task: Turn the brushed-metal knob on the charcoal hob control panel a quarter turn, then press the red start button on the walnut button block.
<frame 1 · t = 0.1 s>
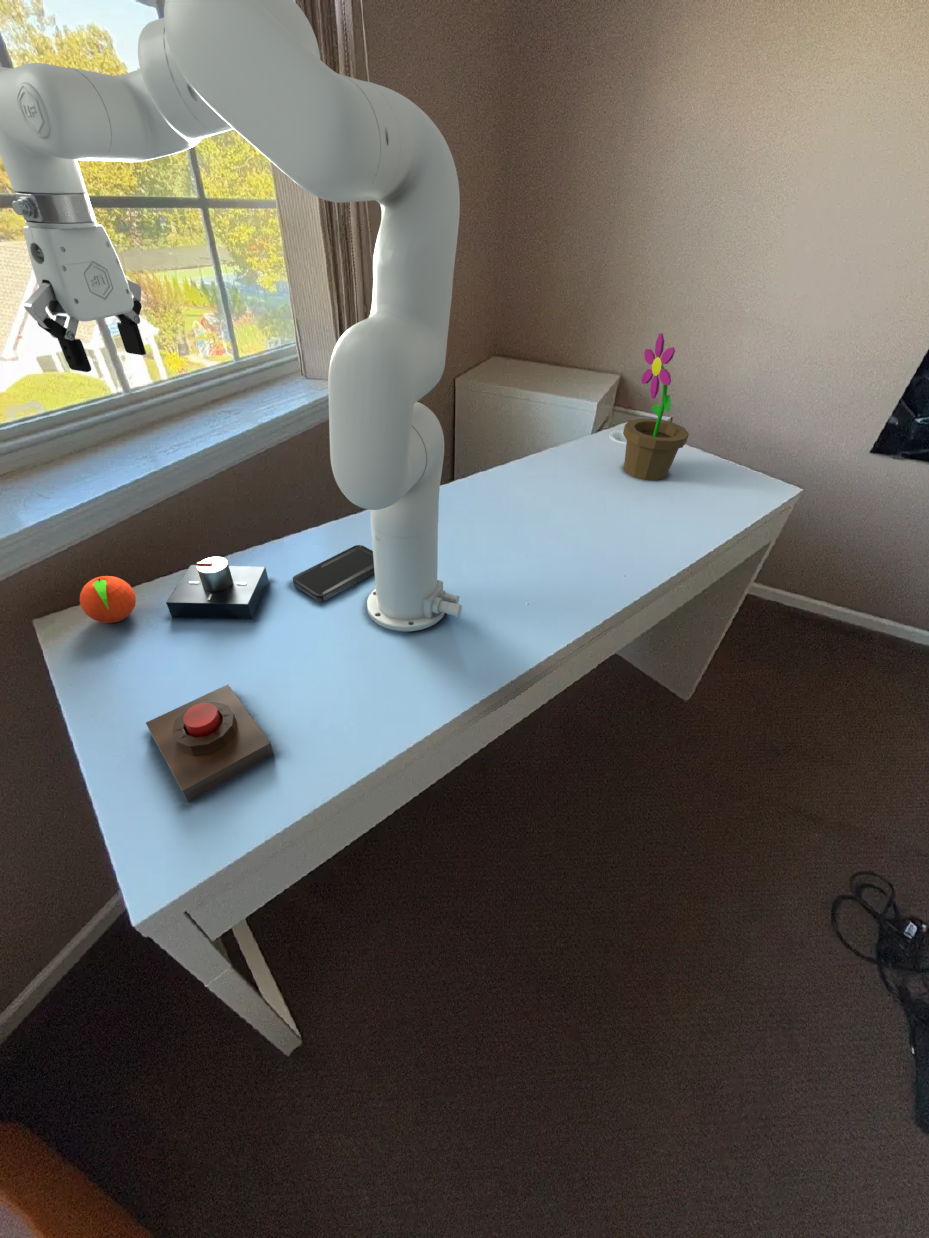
hand: (110, 361, 77), 31 cm above the table, tool pointing down, fingers open, 9 cm apart
flowerpot: (645, 472, 132), on the table
start button: (202, 719, 62), point 4 cm above the table, slide at 0.1 cm
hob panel: (222, 598, 87), on the table
phone: (341, 574, 93), on the table
clementine: (117, 620, 82), on the table
hob knob: (214, 573, 84), point 5 cm above the table, hinge at 0.0°
button block: (212, 744, 65), on the table
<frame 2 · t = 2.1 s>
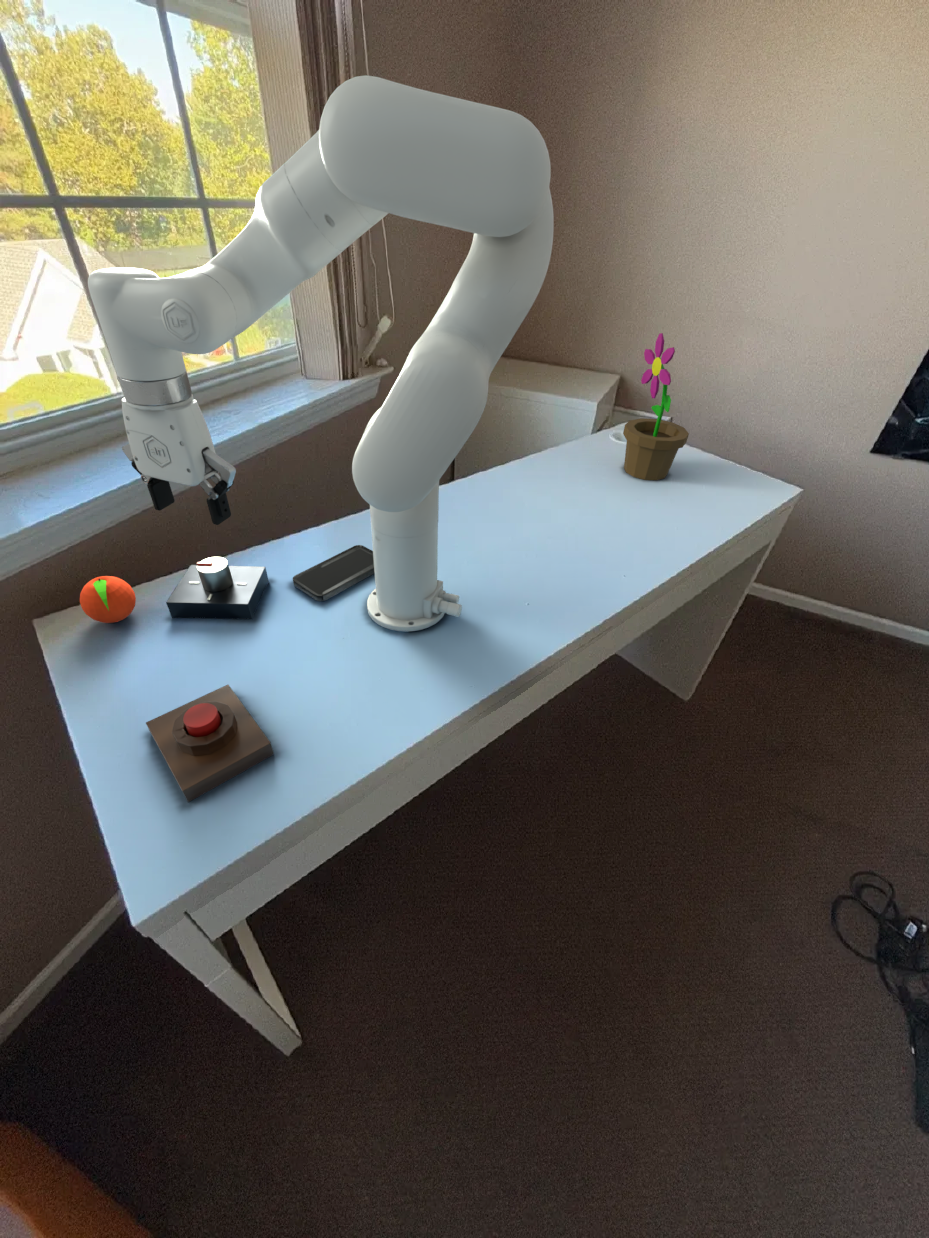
hand: (193, 513, 78), 15 cm above the table, tool pointing down, fingers open, 9 cm apart
nothing on the table moved.
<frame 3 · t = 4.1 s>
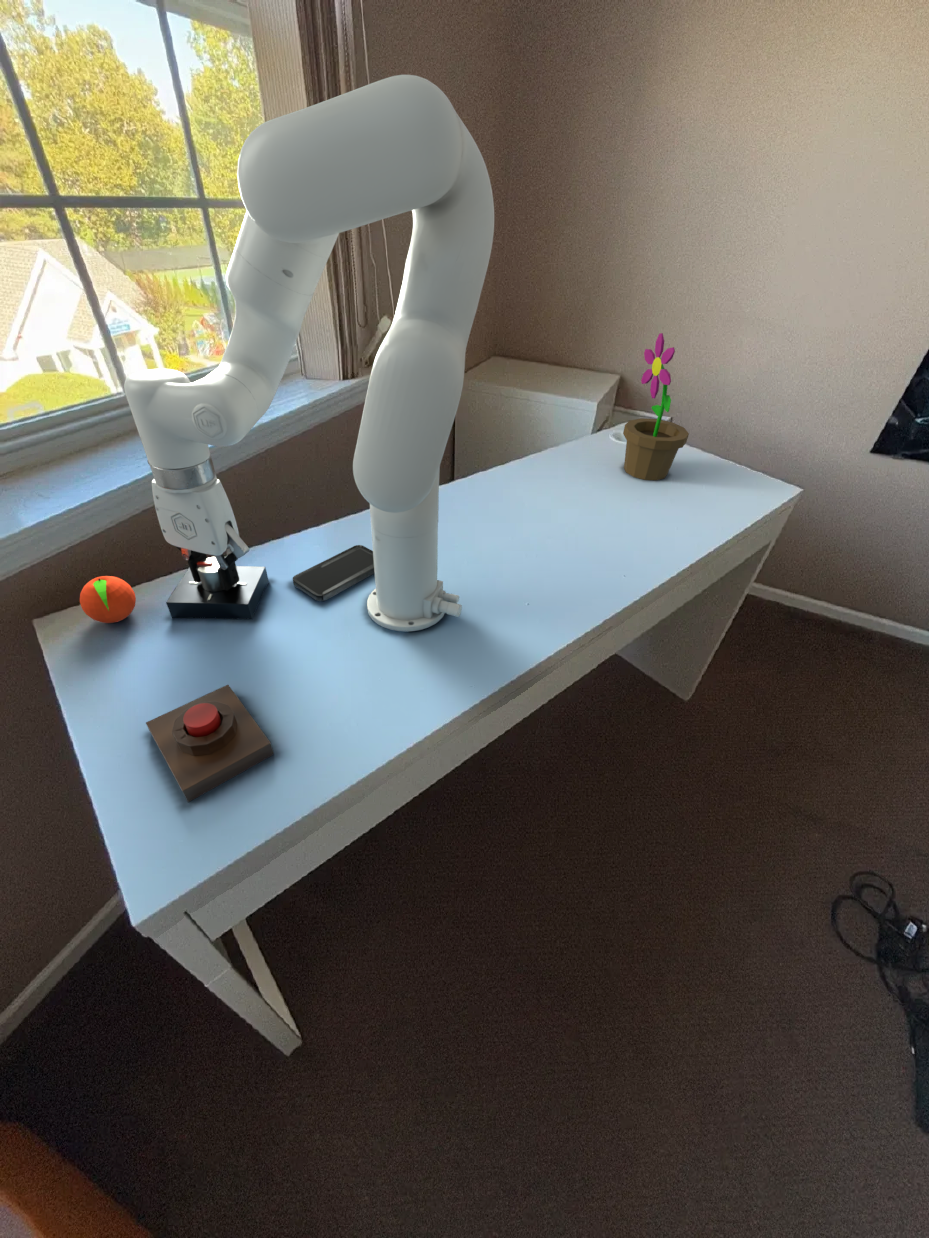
hand: (217, 580, 85), 4 cm above the table, tool pointing down, fingers closed on hob knob, 4 cm apart
hob knob: (214, 573, 84), point 5 cm above the table, hinge at -0.1°, touching gripper
everything else where it was.
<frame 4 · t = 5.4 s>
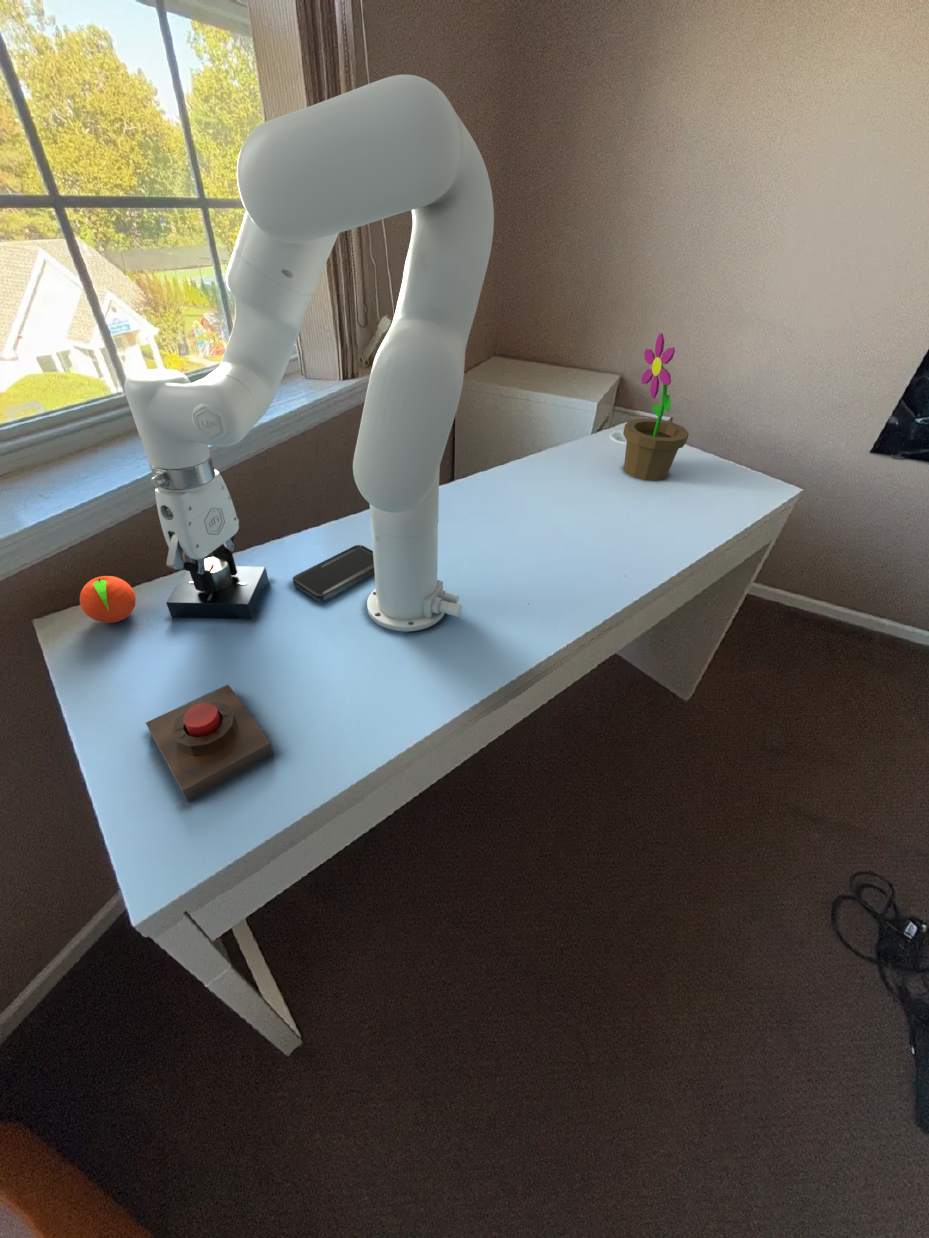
hand: (216, 580, 85), 4 cm above the table, tool pointing down, fingers closed on hob knob, 4 cm apart
hob knob: (214, 573, 84), point 5 cm above the table, hinge at 90.7°, touching gripper
everything else where it was.
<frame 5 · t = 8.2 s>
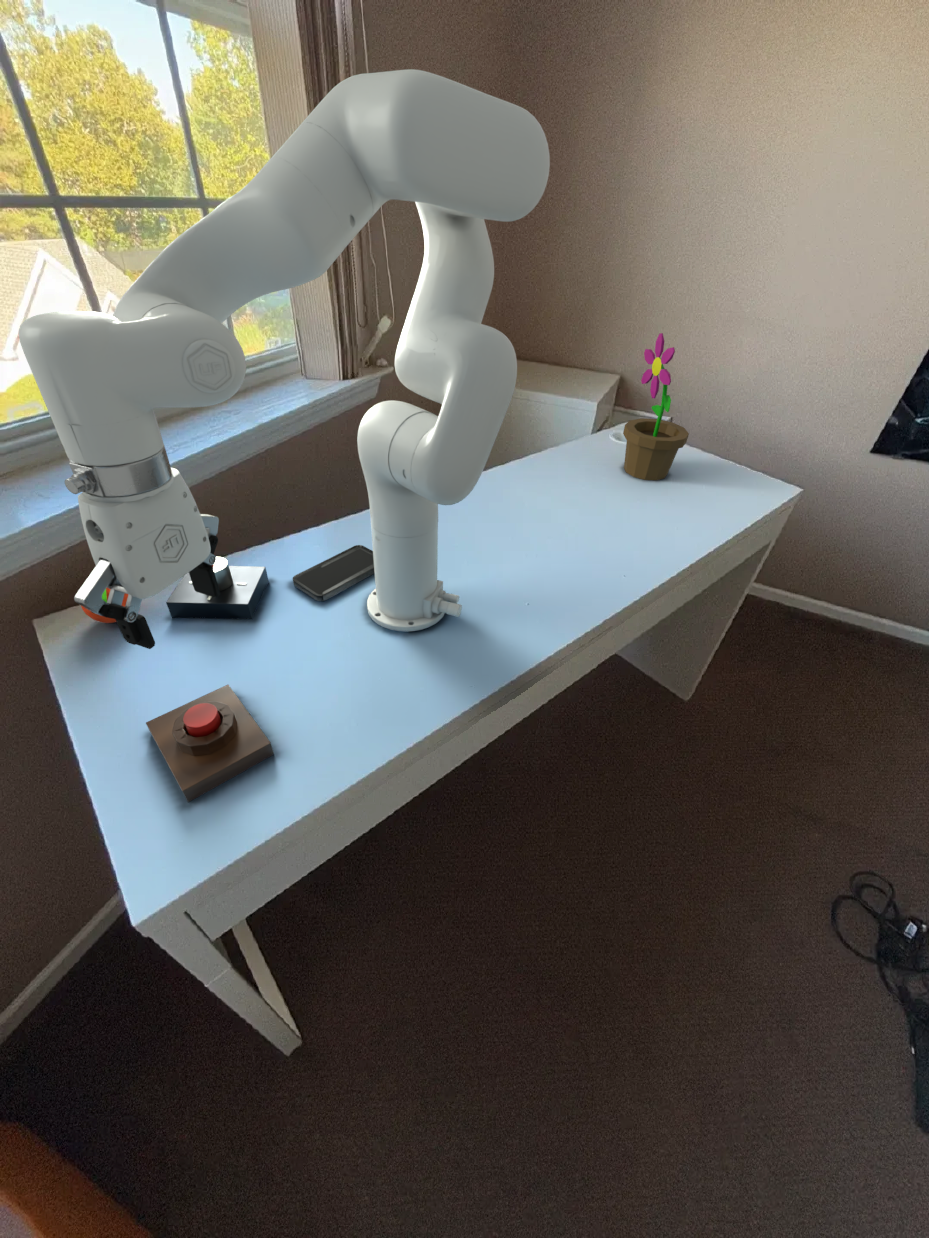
hand: (176, 617, 60), 15 cm above the table, tool pointing down, fingers open, 9 cm apart
hob knob: (214, 573, 84), point 5 cm above the table, hinge at 91.3°
everything else where it was.
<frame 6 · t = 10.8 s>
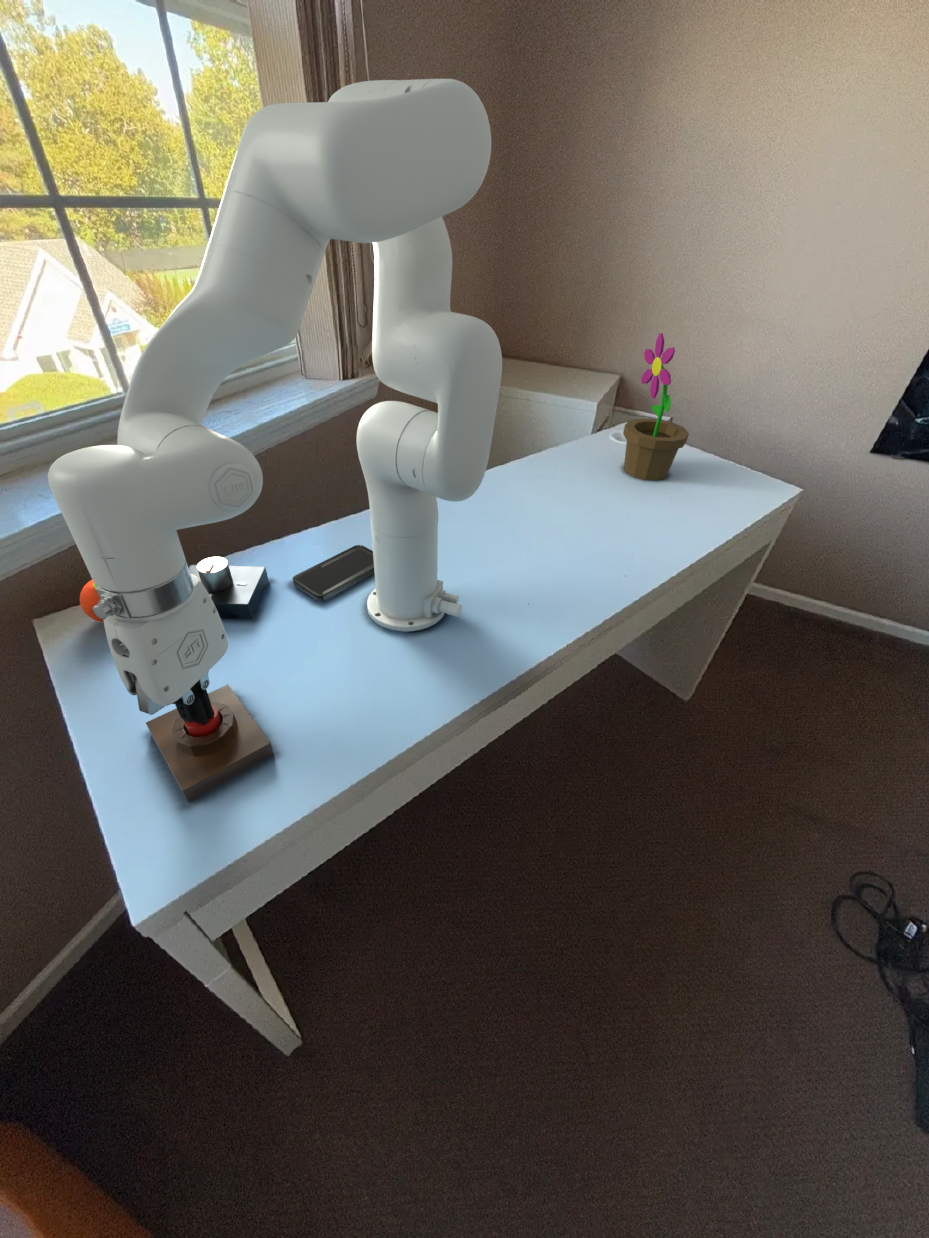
hand: (198, 716, 62), 5 cm above the table, tool pointing down, fingers closed
start button: (202, 720, 62), point 4 cm above the table, slide at 0.0 cm, touching gripper
everything else where it was.
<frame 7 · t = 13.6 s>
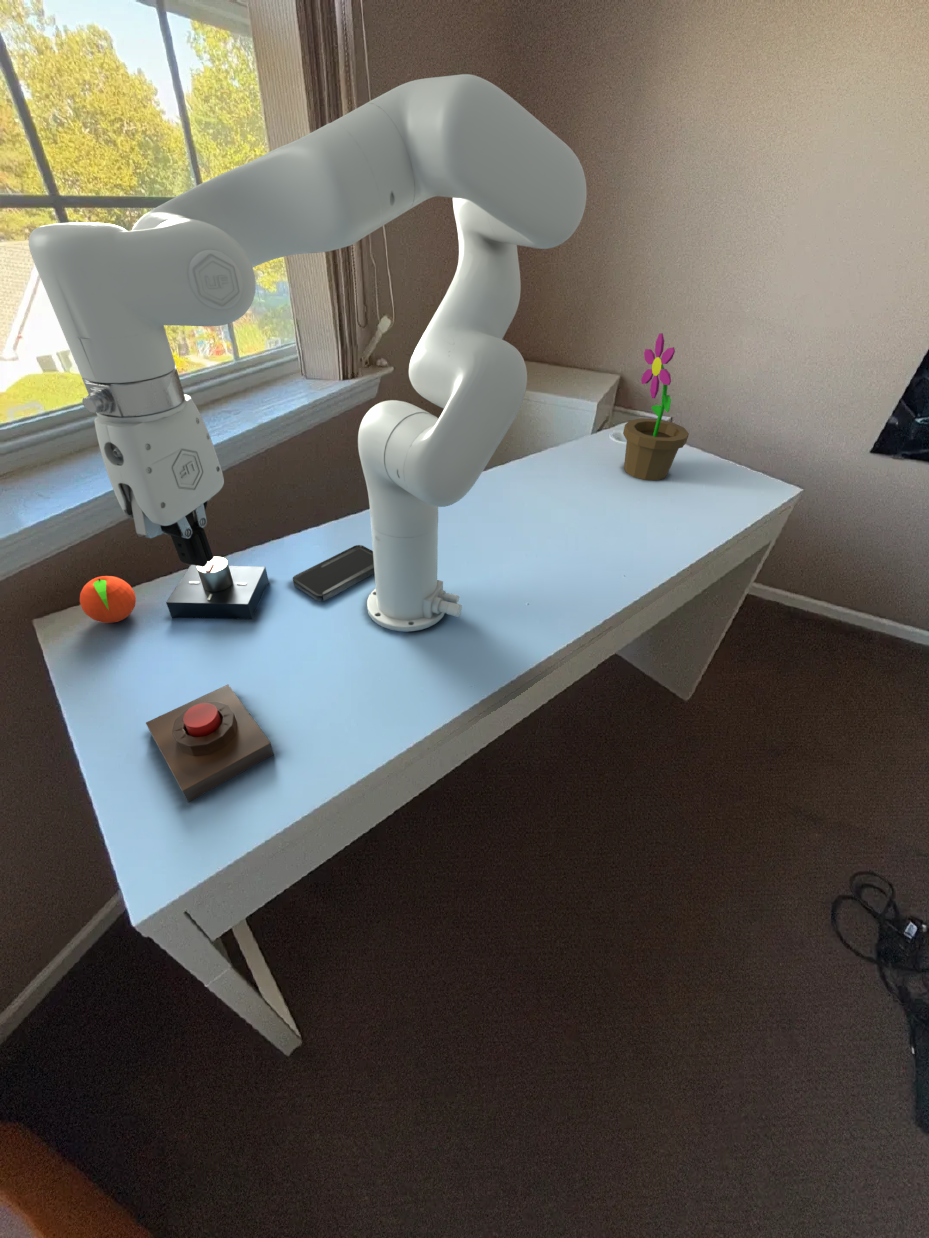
hand: (197, 560, 61), 19 cm above the table, tool pointing down, fingers closed
start button: (202, 719, 62), point 4 cm above the table, slide at 0.1 cm
everything else where it was.
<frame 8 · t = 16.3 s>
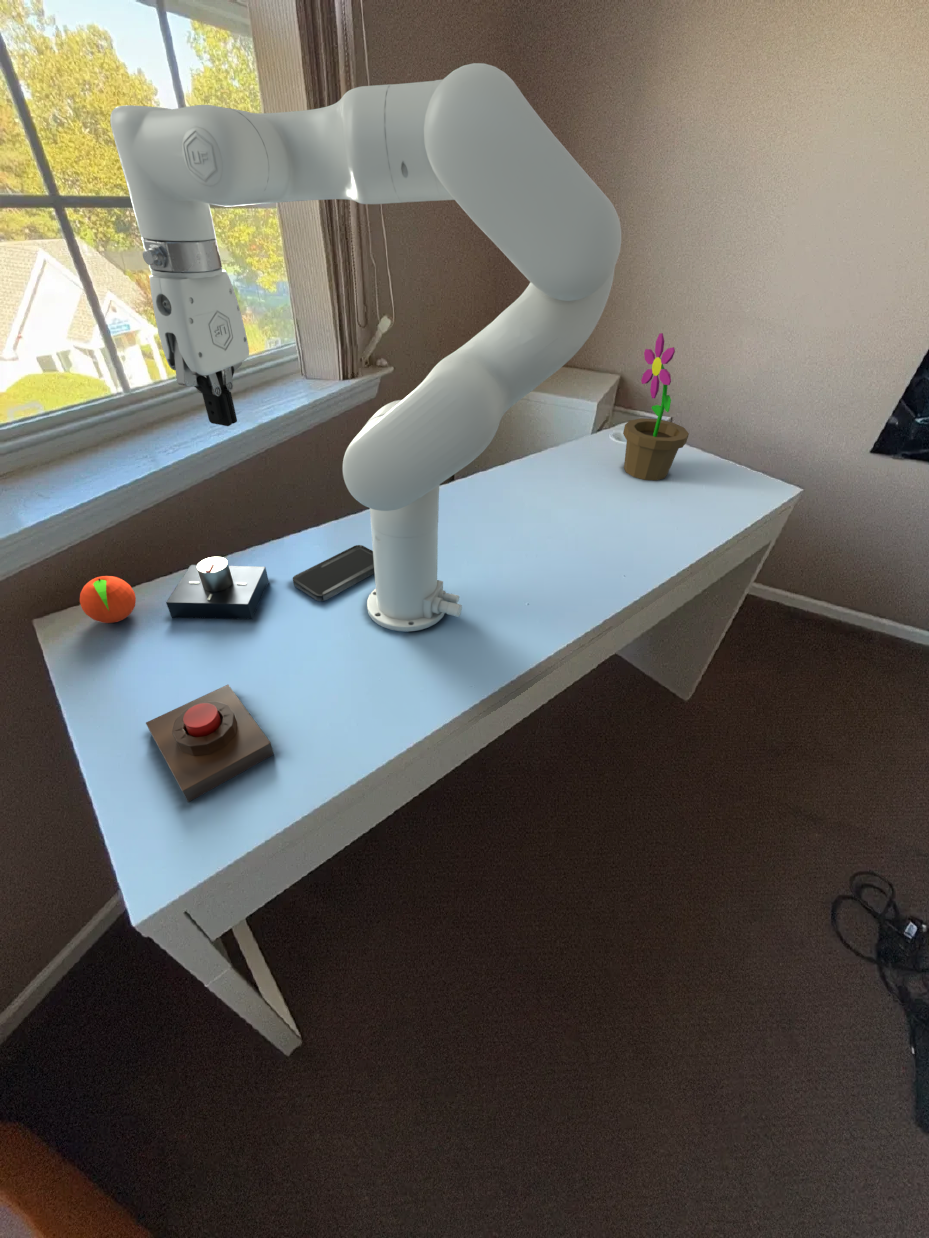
hand: (223, 422, 72), 27 cm above the table, tool pointing down, fingers closed
nothing on the table moved.
at the end: hob knob at +91° (first picture: +0°); start button pushed in 1.1 cm at the most during the clip, back to where it started at the end; start button slide at 0.1 cm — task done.
